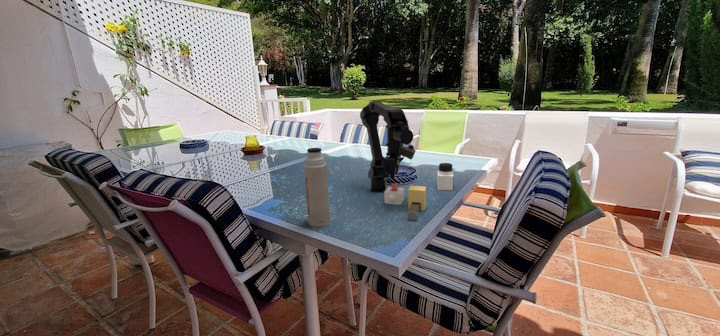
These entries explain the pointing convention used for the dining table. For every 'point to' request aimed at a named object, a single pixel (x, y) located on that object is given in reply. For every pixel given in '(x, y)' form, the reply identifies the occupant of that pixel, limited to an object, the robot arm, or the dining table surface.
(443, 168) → the medicine bottle
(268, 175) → the dining table surface
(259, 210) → the dining table surface
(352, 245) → the dining table surface
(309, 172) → the thermos bottle
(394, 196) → the white button housing
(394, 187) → the button
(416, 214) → the rail
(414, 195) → the block
